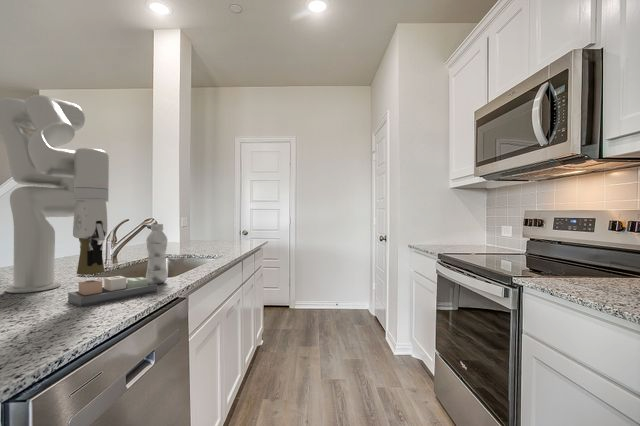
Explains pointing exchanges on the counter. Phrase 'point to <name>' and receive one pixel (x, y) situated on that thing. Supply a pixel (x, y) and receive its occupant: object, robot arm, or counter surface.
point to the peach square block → (90, 287)
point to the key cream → (115, 283)
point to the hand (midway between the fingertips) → (91, 263)
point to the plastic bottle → (156, 255)
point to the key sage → (137, 282)
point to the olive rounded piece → (82, 265)
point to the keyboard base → (109, 295)
